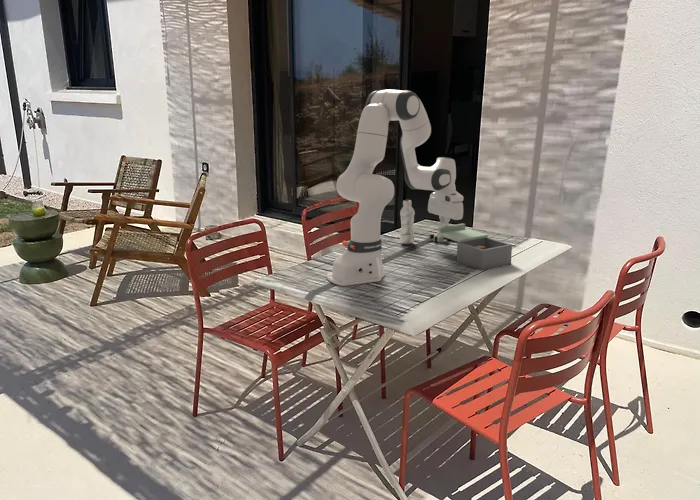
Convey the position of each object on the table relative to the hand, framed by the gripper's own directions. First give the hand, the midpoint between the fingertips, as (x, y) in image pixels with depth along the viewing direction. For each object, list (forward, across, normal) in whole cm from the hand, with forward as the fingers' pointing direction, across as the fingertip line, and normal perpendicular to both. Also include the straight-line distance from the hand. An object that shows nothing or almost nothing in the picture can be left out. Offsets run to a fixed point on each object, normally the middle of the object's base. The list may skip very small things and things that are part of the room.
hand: (444, 226), depth 243 cm
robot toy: (+10, -11, +9) cm, 18 cm away
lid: (+2, +12, 0) cm, 12 cm away
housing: (+10, +26, 0) cm, 27 cm away
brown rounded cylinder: (+9, +26, -2) cm, 28 cm away
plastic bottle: (+10, -16, -9) cm, 21 cm away
